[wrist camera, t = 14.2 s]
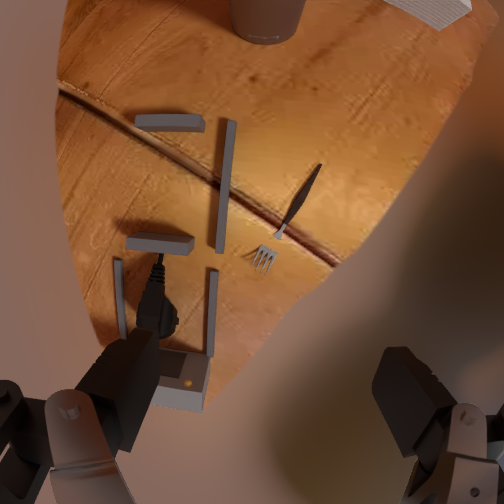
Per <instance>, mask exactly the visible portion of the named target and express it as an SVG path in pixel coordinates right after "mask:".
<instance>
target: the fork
mask: <svg viewBox="0 0 504 504" xmlns="http://www.w3.org/2000/svg"><path fill="white" fill-rule="evenodd" d="M321 166H322V164H320V166H319V167H318V168H317V170H316V171H315V173H314V174H313V175H312V177H311V178H310V179H309V181H308V182H307V183H306V185H305V186H304V187H303V189H302V190H301V191H300V193H299V194H298V195H297V197H296V199H295V200H294V202H293V204H292V206H291V208H290V210H289V212H288V215H287V217H286V219H285V221H284V223H283V225H282V227H281V229H280V230H279V231H278V232H276V233H274V234H273V236H274V237H275V238H276V239H278V240H281V236H282V232H283V230H284V228H285V227H286V225H287V224H288V223H289V222H290V220H291V219H292V218H293V217H294V215H295V214H296V213H297V211H298V210H299V209H300V207H301V206H302V204H303V203H304V201H305V199H306V197H307V195H308V193H309V191H310V188H311V186H312V184H313V182H314V180H315V178H316V176H317V174H318V172H319V170H320V168H321ZM262 250H263V253H262V256H261V258H260V260H259V263H258V265H257V267H256V269H257V268H258V266H259V264H260V262H261V261H262V259H263V257H264V255H265V254H266V253H268V255H267V258H266V260H265V262H264V265H263V267H262V269H261V272H262V270H263V268H264V266H265V265H266V263H267V261H268V259H269V258H270V256H272V259H271V262H270V264H269V266H268V269H267V271H266V274H267V272H268V270H269V268H270V267H271V265H272V263H273V261H274V260H275V258H276V256H277V252H275V251H273V250H271V249H269V248H268V247H266V246H264V245H260V247H259V249H258V251H257V254H256V256H255V258H254V260H253V263H254V262H255V260H256V258H257V257H258V255H259V253H260V252H261V251H262ZM253 263H252V265H253ZM252 265H251V267H252ZM251 267H250V268H251ZM261 272H260V273H261ZM266 274H265V276H266Z"/></svg>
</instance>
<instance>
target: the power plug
mask: <svg viewBox="0 0 504 504" xmlns="http://www.w3.org/2000/svg"><path fill="white" fill-rule="evenodd" d="M163 256H164V253H159V256H158V262H157V264H153V267H152V268H153V269H152V270H151V272H152V273H150V275H149V276H150V277H149V278H148V280H149V281H147V284H146V290H145V291H143V294H142V300H141V302H140V303H139V306H138V311H137V314H136V317H137V319H136V325H137V327H138V328H143V329H149V330H155V331H157V332H158V337H159V339H164V338H167V337H169V336H171V335H172V334H173V333H174V332H175V328H176V325H178V324H179V318H178V317H177V309H176V308H175V306H174V305H173V304H172V303H171V302H169V301H168V300H167V299H166V298H165V297H164V292H165V285H164V284H165V281H164V280H165V277H164V276H163V275H165V272H164V271H165V267H164V265H162V262H163Z"/></svg>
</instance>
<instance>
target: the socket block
mask: <svg viewBox="0 0 504 504" xmlns="http://www.w3.org/2000/svg"><path fill="white" fill-rule="evenodd" d="M114 270H115V288H116V302H117V313H118V323H119V332H120V339H125V340H126V339H127V337H128V335H127V325H126V315H125V302H124V286H123V260H122V259H115V260H114ZM218 275H219V270H211V272H210V289H209V308H208V330H207V354H202V353H195V352H188V351H181V350H174V349H168V348H162V347H159V352H160V365H161V373H160V380H159V383H158V386H157V388H156V391H155V393H154V395H153V398H152V400H151V402H150V404H152V405H157V406H163V407H168V408H173V409H179V410H185V411H191V412H198V413H202V410H203V405H204V400H205V395H206V390H207V385H208V381H209V376H210V357H213V356H214V340H215V321H216V305H217V289H218Z"/></svg>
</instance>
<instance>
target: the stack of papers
mask: <svg viewBox="0 0 504 504" xmlns="http://www.w3.org/2000/svg"><path fill="white" fill-rule="evenodd" d="M384 1H386V2H388V3H390V4H392V5H394V6H396V7H398V8H400V9H402V10H404V11H406V12H407V13H409V14H411V15H413V16H415V17H416V18H418V19H420V20H422V21H423V22H425V23H427V24H428V25H430V26H432V27H433V28H435V29H436V30H438V31H441V29H444V28H445V27H447V26H448V25H450V24H451V23H453V22H454V21H456V20H457V19H459V18H460V17H462V16H463V15H465V13H468V11H469V12H470V11H471V10H472V7H471V1H470V0H384Z"/></svg>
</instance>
